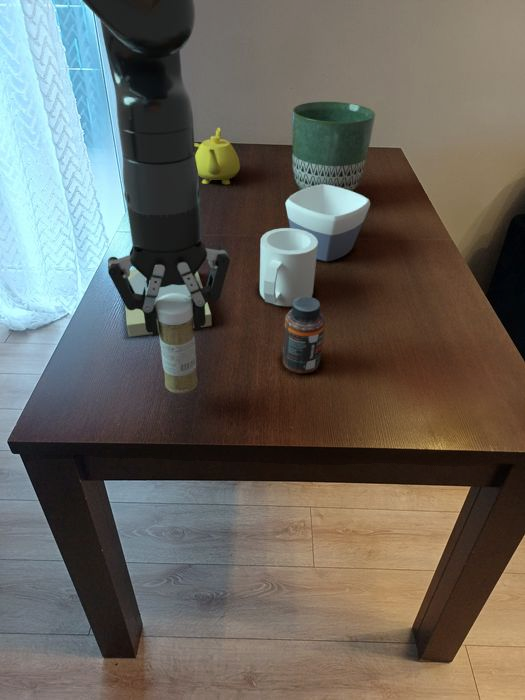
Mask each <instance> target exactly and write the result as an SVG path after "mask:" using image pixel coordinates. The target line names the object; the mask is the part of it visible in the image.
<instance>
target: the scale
mask: <svg viewBox="0 0 525 700" xmlns="http://www.w3.org/2000/svg"><path fill="white" fill-rule="evenodd" d="M195 276H196V279H197V281H198V283H199V285H200V288H203V287H204V286H203V284H202V281H201V278H200V275H199V270H198V271H197V272H196V274H195ZM128 280H129V282H130V284H131V286H132V288H133V290H134V292H135V293H136V294H141V295H142V292H143V288H144V281H145V277H144V276H143V275H142V274H141V273H140V272H139V271H138V270H137V269H130V275H129V277H128ZM172 293H179V294H184V295H186V296H188V297H189V298H190V299H191V298H192V296H191V294H190V293H189V291H188V289H187V287H186V285H169V286H166V287H160V289H159V293H158V296H157V298H156V300H155V303H156V301H157V300H158V299H159V298H160V297H162V296H164V295H166V294H172ZM154 305H155V304H154ZM124 308H125V318H126V329H127V333H128V337H129V338H133V337H138V336H139V337H140V336H148V335H153V333H152V332H150V333H148V332H147V330H146V325H145V318H144V313H143V311H142V310H140V309H135V310H128V309H127V308H126V306H125V305H124ZM156 319H157V318H156ZM205 319H206V323H205V325H204V326H201V328H205V327H211V326H212V324H213V323H212V322H213V321H212V313H211V309H210V306H209V304H208V302H207V303H206V304H205ZM192 320H193V318H192ZM157 327H158V334H159V325H158V321H157ZM193 329H195V328H194V324H193Z"/></svg>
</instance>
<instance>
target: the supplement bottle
mask: <svg viewBox="0 0 525 700" xmlns="http://www.w3.org/2000/svg"><path fill="white" fill-rule="evenodd" d="M325 324H326V320H325V315H324V314H323V313H322V312H321V302H320V301H319V300H318V299H316V298H314V297H313V296H312V297H299V298H296V299H295V300H294V301H293V306H291V309H290V310H289V311H288V312H287V313H286V315H285V318H284V327H283V329H284V330H283V343H282V344H283V345H282V364H283V366H284V367H285V368H286V370H289V371H290V372H293V373H296V374H309V373H312V372H314V371H316V370H317V369H318V367H319V366H320V363H321V359H322V358H321V356H322V349H323V339H324V332H325Z"/></svg>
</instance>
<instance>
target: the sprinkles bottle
mask: <svg viewBox="0 0 525 700" xmlns="http://www.w3.org/2000/svg"><path fill="white" fill-rule="evenodd" d="M155 311H156V318H157V321H158V325H159V333H158V335H159V344H160V354H161V360H162V368H163V373H164V387H165V388H166V390H168V392H170V393H172V394H178V395H184V394H188V393H190V392H191V391H193V390H194V389H195V388H196V387H197V386H198V381H199V379H198V376H197V354H196V338H195V332H194V331H195V330H194V328H193V320H192V318H193V314H194V312H193V302H192V300H191V299H190V298H189V297H188V296H186V295H184V294H179V293H172V294H166V295H164V296H162V297H160V298H159V299H158V300H157V301H156V303H155Z"/></svg>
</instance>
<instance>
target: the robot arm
mask: <svg viewBox="0 0 525 700" xmlns="http://www.w3.org/2000/svg"><path fill="white" fill-rule="evenodd" d="M81 1H82V2H83V3H84V4H85V5H86V7H88V8H89V10H90V11H92V13H93V14H94V15H95V16H96V17H97V18H98V19H99V23H100V27H101V33H102V38H103V42H104V48H105V52H106V57H107V61H108V65H109V70H110V75H111V78H112V82H113V88H114V93H115V94H114V95H115V104H116V118H117V127H118V133H119V140H120V146H121V154H122V180H123V181H122V182H123V188H124V198H125V202H126V206H127V207H126V209H127V216H128V223H129V229H130V235H131V242H132V246H131V249H130V252H129V254H128V255H126V256H123V257H120V258H118V257H116V256H110V257H109V258H108V259H107V273H108V275H109V277H110V279H111V281H112V283H113V285H114V286H115V288H116V290H117V292H118V294H119V295H120V296H119V297H120V298H121V300H122V302H123V304H124V307H125V306H126V308H127V309H128V310H135V309H140V310H142V311H143V313H144V318H145V325H146V330H147V332H148V333H150V332H152V333H153V334H152V337H158V336H159V337H160V334H159V333H158V327H157V319H156V311H155V305H154V304H155V300H156V298H157V296H158V293H159V289H160V287H166V286H169V285H186V287H187V289H188V291H189V293H190V294H191V296H192V298H191V300H192V302H193V312H194V314H193V324H194V328H193V329H194V331H195V332H199V331H201V329H202V327H201V326H204V325H205V323H206V319H205V304H206V303H208V302H210V301H214V302H215V301H218V300H219V299H220V298H221V294H222V291H223V288H224V283H225V280H226V278H227V277H226V276H227V273H228V269H229V265H230V262H231V260H230V257H229V255H228V252H227V250H226V248H225V247H224V246H219V247H217V248H216V249H213V248H207V247H206V246H205V243H203V237H202V235H203V234H202V220H201V219H202V217H201V216H202V215H201V200H200V198H201V187H200V177H199V176H198V169H197V164H196V159H195V154H196V148H195V145H194V143H195V129H194V127H195V126H194V115H193V107H192V101H191V98H190V95H189V93H188V90H187V89H186V86H185V84H184V80H183V75H182V62H181V50H182V49H183V48H184V47H185V45H187V43H188V42H189V40H190V38H191V36H192V34H193V31H194V27H195V23H196V22H195V21H196V7H195V6H196V5H195V0H81ZM206 260H207V263H208V266H209V268H210V271H209V275H208V278H207V283H206V285H205V286H202V287H203V288H200V285H199V283H198V281H197V279H196V276H195V274H196V272H197V271H198V272H199V269H201V267H202V265H203V264H204V262H205V261H206ZM132 267H134V269H135V270H138V271H139V272H140V273H141V274H142V275H143V276H144V277H145V281H144V288H143V292H142V295H141V294H136V293H135V292H134V290H133V288H132V286H131V284H130V282H129V280H128V277H129V275H130V270H131V268H132ZM126 308H125V309H126Z"/></svg>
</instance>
